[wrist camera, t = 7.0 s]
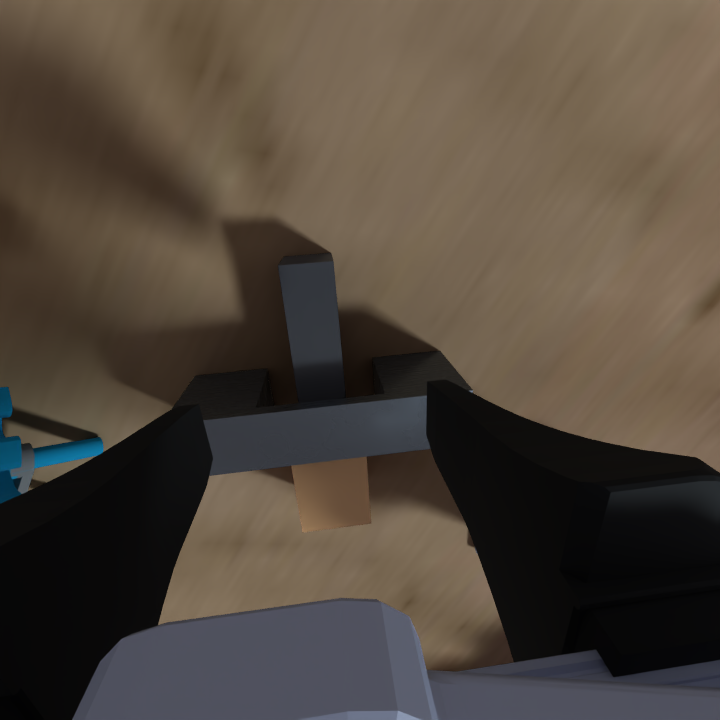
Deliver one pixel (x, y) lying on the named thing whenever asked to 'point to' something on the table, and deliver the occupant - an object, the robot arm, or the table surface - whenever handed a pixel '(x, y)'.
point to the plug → (320, 392)
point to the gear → (33, 455)
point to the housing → (316, 416)
